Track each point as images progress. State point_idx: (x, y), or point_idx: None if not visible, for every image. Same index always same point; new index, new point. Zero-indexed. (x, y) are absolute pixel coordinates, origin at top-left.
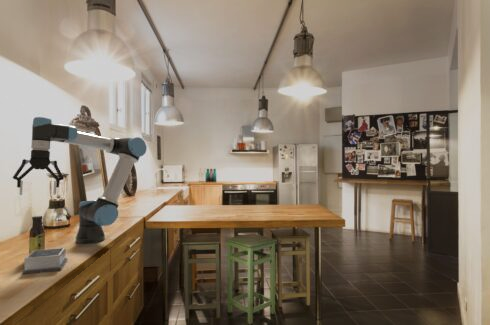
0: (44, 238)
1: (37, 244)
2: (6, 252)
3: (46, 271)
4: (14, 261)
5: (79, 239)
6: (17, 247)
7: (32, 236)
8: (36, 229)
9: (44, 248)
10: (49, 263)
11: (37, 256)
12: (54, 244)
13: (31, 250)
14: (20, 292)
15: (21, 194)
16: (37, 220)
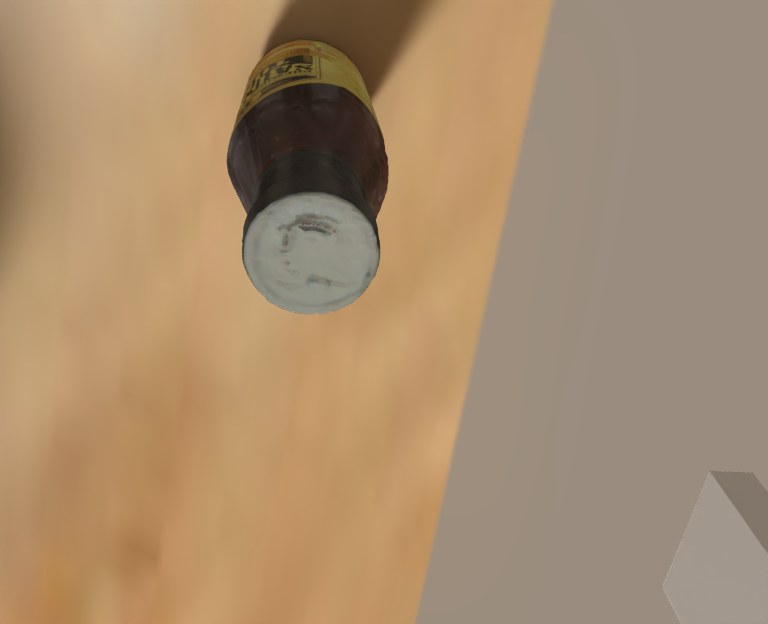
0: (240, 110)
1: (315, 61)
2: (447, 423)
3: None
4: (459, 131)
5: None
6: (366, 508)
7: (365, 108)
8: (328, 128)
9: (246, 87)
10: None
11: None
12: (128, 448)
13: (360, 79)
14: None
15: (725, 479)
16: (319, 175)
